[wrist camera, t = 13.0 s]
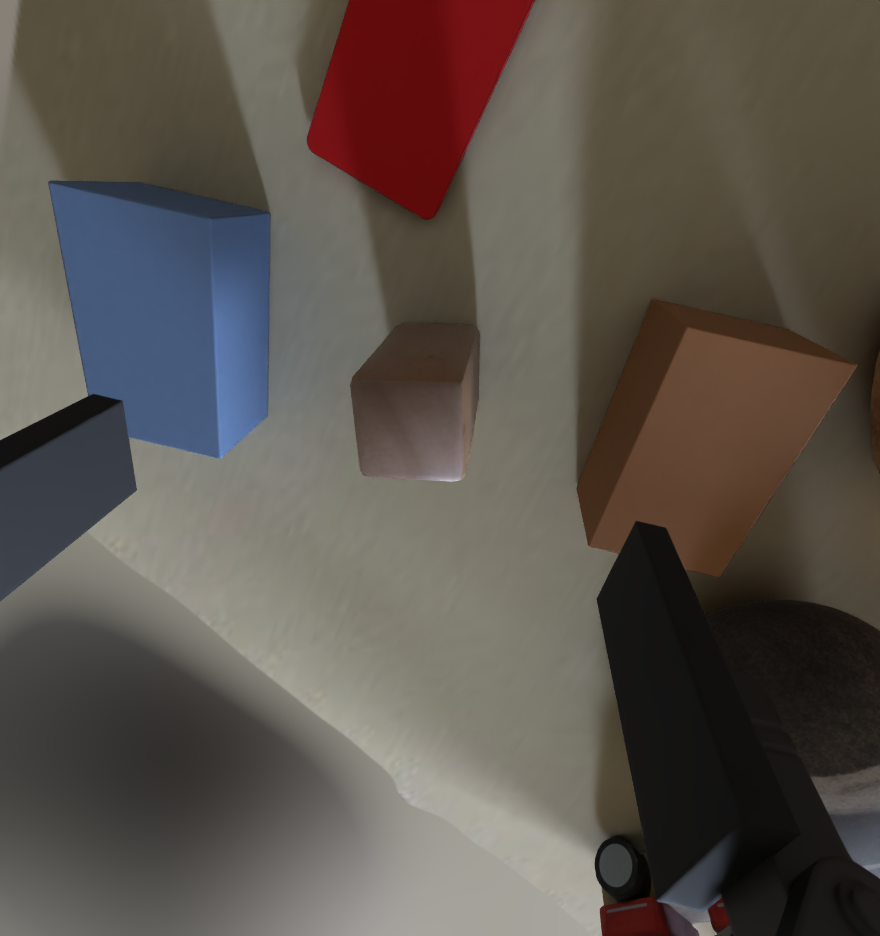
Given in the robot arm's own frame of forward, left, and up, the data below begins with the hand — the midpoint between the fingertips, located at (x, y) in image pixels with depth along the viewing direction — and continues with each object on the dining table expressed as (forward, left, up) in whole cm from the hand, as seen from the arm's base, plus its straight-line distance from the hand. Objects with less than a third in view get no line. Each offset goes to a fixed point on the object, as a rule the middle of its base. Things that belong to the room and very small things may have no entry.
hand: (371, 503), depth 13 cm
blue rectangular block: (-11, 0, -13) cm, 17 cm away
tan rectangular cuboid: (+12, 0, -13) cm, 17 cm away
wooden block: (0, 0, -13) cm, 13 cm away
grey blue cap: (+23, -15, -13) cm, 31 cm away
